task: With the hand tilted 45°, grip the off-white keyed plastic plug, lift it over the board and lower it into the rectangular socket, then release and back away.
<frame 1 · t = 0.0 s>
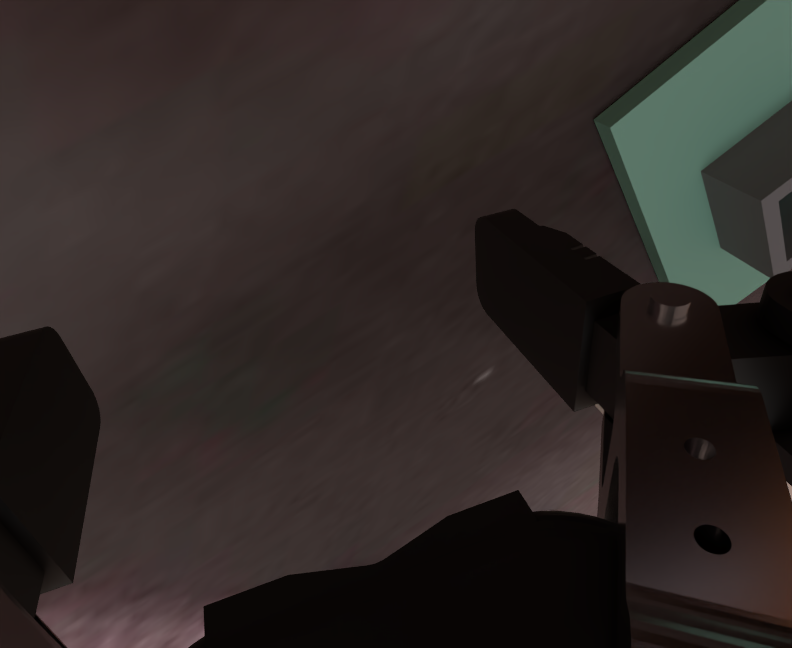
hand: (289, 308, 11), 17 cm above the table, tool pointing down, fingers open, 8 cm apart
header board: (742, 166, 36), on the table
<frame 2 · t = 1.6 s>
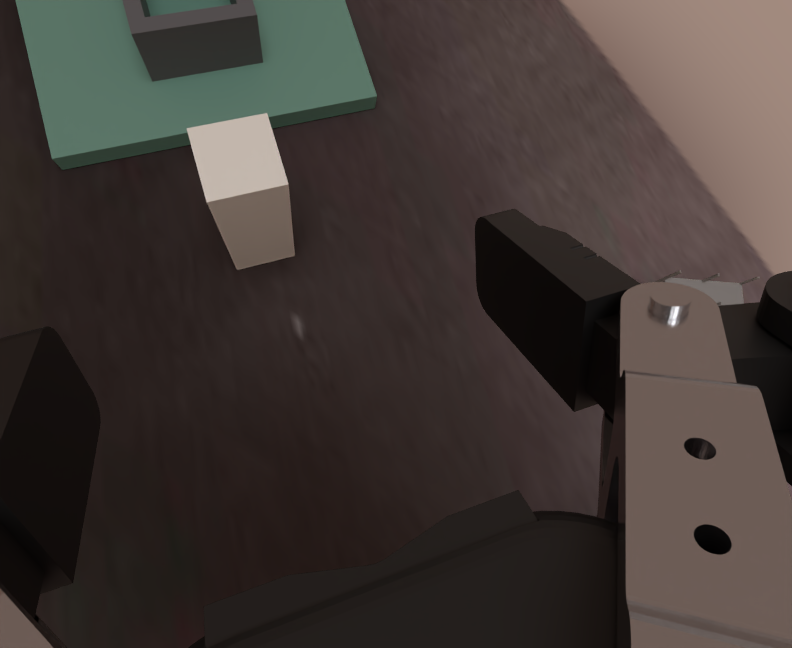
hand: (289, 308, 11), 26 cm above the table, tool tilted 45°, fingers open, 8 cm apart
header board: (199, 40, 40), on the table
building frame: (665, 345, 41), on the table
keyed plug: (258, 236, 37), on the table
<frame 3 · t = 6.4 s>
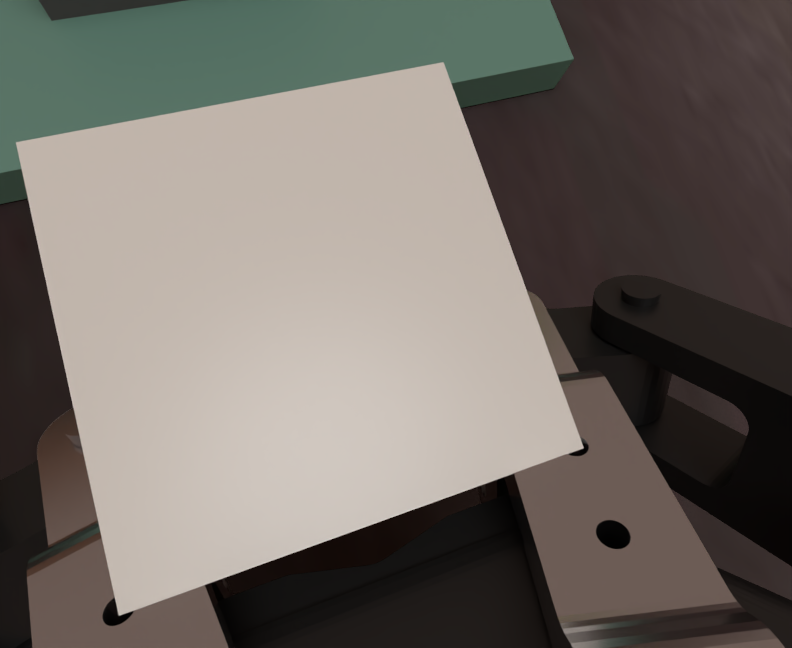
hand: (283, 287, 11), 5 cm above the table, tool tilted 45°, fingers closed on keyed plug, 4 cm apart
keyed plug: (311, 395, 15), on the table, touching gripper
when the fingers open (7 cm above the table, at t = 12.0 s): keyed plug stays where it is, resting on header board.
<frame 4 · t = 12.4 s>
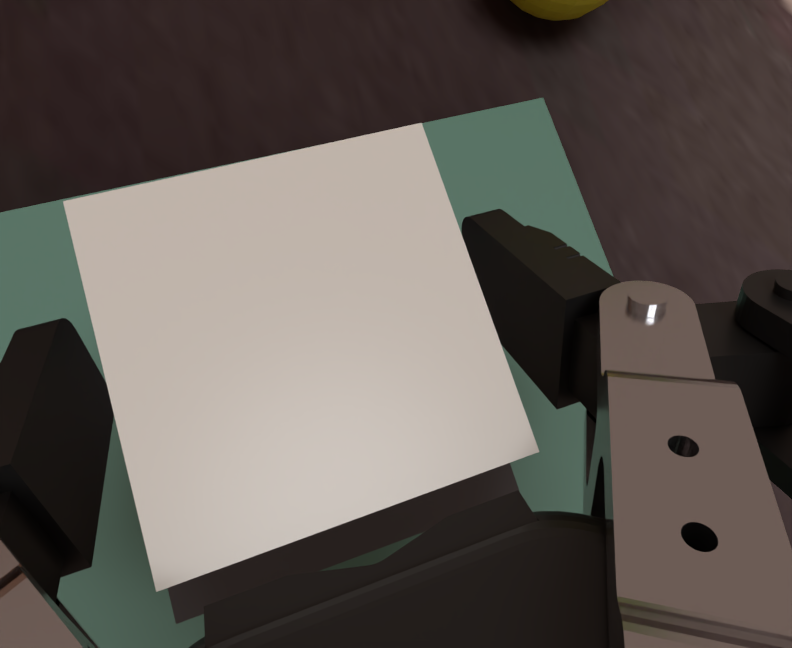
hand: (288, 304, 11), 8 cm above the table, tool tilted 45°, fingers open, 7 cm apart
lemon: (534, 5, 23), on the table
header board: (311, 401, 18), on the table
keyed plug: (311, 399, 16), point 1 cm above the table, touching header board
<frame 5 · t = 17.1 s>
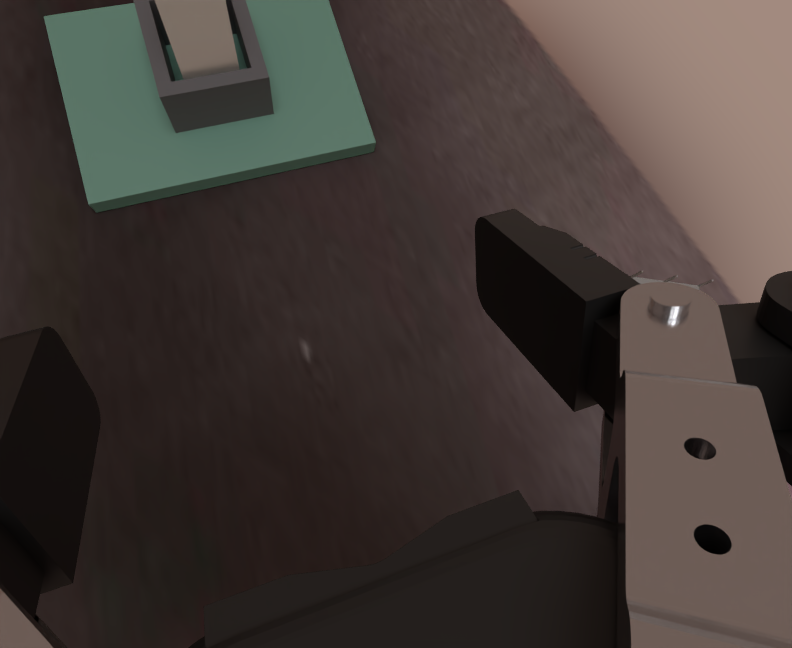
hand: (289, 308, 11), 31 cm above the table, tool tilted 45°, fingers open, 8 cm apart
header board: (216, 92, 44), on the table
keyed plug: (213, 81, 43), point 1 cm above the table, touching header board
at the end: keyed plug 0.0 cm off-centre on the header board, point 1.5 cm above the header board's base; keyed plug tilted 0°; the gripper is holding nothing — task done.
